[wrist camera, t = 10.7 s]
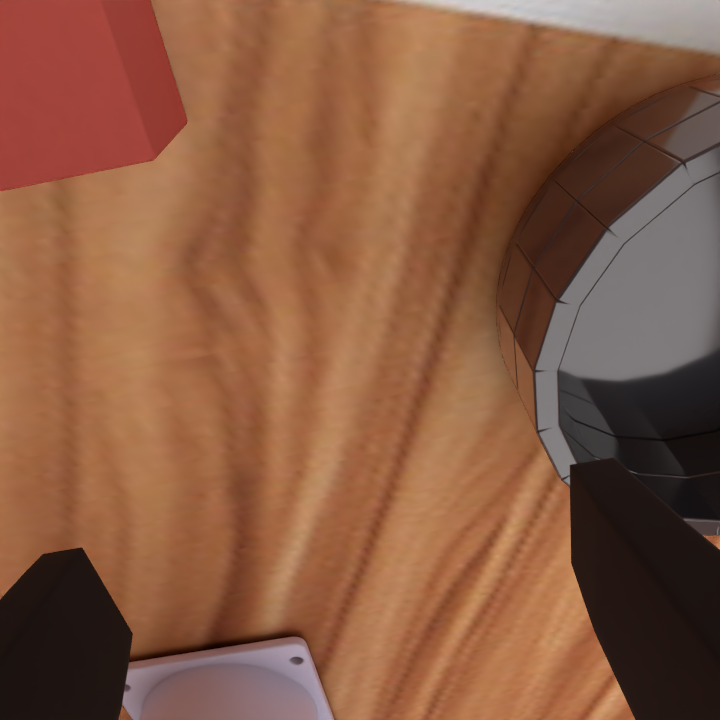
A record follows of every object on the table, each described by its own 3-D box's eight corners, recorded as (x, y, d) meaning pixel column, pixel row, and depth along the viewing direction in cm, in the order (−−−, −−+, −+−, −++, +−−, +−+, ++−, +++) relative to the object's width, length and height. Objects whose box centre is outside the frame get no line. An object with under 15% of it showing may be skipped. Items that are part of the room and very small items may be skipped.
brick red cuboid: (189, 123, 15) (155, 160, 12) (59, 150, 15) (-4, 193, 12) (119, -101, 13) (58, -123, 10) (-32, -67, 13) (-136, -78, 10)
